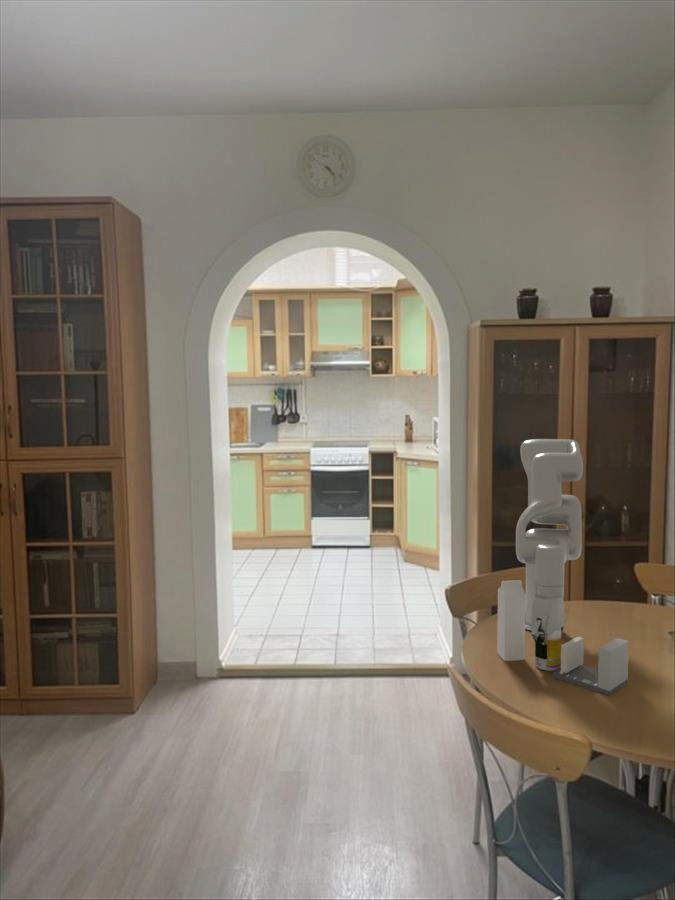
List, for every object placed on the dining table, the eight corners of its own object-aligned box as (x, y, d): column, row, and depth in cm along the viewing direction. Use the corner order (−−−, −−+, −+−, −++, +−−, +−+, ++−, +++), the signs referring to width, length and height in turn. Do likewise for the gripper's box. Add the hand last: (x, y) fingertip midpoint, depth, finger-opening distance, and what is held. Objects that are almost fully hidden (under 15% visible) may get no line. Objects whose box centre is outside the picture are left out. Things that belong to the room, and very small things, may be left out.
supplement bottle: (565, 666, 181) (565, 620, 180) (554, 674, 177) (555, 627, 176) (541, 660, 186) (542, 615, 185) (530, 667, 181) (531, 621, 180)
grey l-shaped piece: (553, 677, 175) (554, 635, 174) (572, 666, 181) (573, 626, 181) (609, 695, 164) (610, 651, 163) (627, 683, 170) (628, 641, 170)
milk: (497, 653, 191) (497, 578, 190) (517, 652, 192) (517, 577, 190) (504, 661, 185) (504, 583, 184) (525, 660, 186) (525, 582, 184)
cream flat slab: (557, 672, 173) (558, 646, 172) (577, 661, 180) (578, 636, 179) (563, 674, 171) (564, 648, 171) (583, 663, 179) (583, 637, 178)
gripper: (553, 580, 188) (551, 642, 190) (519, 593, 176) (518, 659, 178) (578, 586, 183) (576, 649, 184) (545, 599, 171) (544, 667, 172)
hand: (548, 653), depth 181 cm, fingers closed on supplement bottle, 6 cm apart
